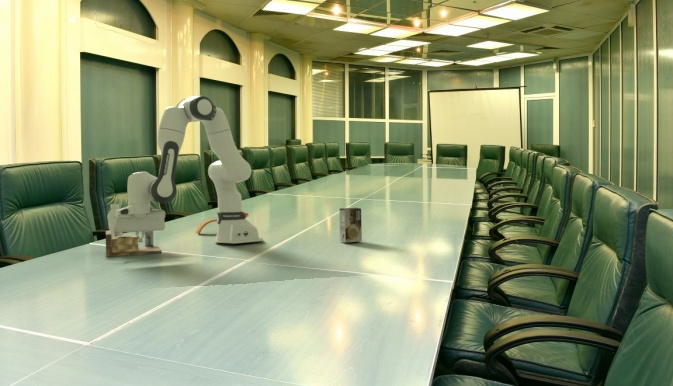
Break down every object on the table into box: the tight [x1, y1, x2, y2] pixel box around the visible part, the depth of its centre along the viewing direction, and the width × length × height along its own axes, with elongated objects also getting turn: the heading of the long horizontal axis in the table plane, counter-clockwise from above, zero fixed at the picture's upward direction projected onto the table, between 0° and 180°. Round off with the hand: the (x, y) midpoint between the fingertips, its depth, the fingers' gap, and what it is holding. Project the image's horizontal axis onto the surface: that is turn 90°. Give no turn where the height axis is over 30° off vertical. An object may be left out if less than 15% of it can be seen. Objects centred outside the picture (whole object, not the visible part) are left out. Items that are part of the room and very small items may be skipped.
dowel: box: [144, 231, 154, 247], centre depth 223 cm, size 4×4×12 cm
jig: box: [105, 230, 162, 258], centre depth 208 cm, size 21×16×9 cm
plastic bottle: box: [106, 203, 124, 239], centre depth 222 cm, size 6×7×20 cm
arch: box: [195, 218, 217, 235], centre depth 259 cm, size 6×20×10 cm, turn 118°
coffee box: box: [339, 207, 363, 244], centre depth 238 cm, size 9×6×16 cm
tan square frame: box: [112, 235, 139, 253], centre depth 207 cm, size 10×10×6 cm
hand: (140, 242), depth 209 cm, fingers closed
